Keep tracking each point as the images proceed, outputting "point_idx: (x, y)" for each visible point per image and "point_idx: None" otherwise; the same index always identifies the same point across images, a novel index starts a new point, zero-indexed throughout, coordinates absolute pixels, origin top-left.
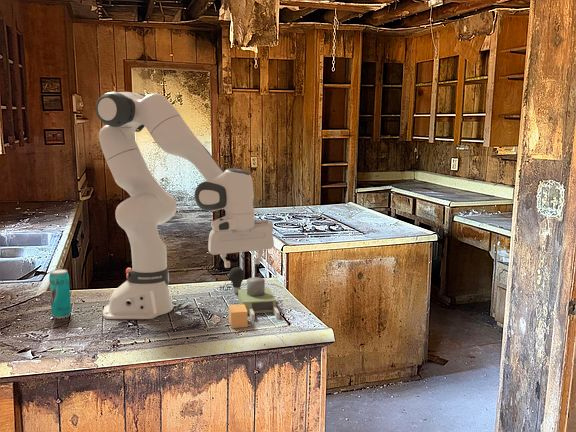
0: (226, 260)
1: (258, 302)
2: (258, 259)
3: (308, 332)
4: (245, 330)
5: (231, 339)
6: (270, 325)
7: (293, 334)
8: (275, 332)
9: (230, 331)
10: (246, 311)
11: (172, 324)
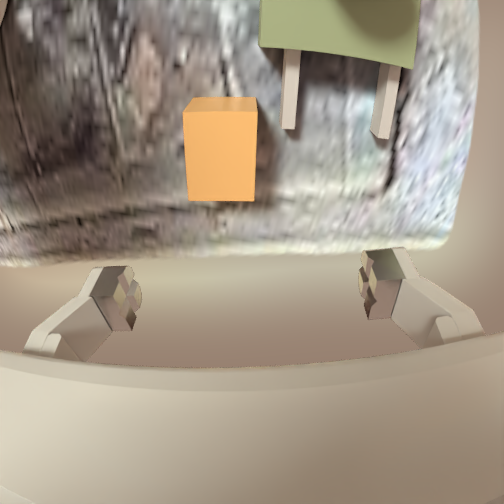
0: (100, 344)
1: (336, 53)
2: (393, 313)
3: None
4: None
5: (193, 250)
6: (330, 179)
7: None
8: (325, 231)
9: None
10: (250, 198)
11: (22, 125)
